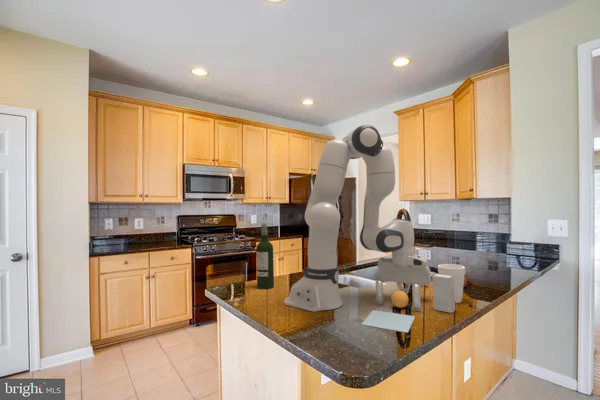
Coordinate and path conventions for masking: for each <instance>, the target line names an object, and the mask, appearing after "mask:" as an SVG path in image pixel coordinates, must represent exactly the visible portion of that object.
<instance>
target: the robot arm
mask: <svg viewBox="0 0 600 400" xmlns="http://www.w3.org/2000/svg"><path fill="white" fill-rule="evenodd" d="M361 158H362V160H363V162H365V163H364V164H365V166H366V169H365V170H366V171H365V172H366V186H365V196H364V202H363V203H364V204H363V220H362V221H363V223H362V228H361V231H360V235H359V242H360V244H361V246H362V247H363V248H364V249H365V250H367V251H376V252H380V253H386V254H387V253H391V257H380V258H379V259H378V260H377V268H378V271H377V279H378V280H382V281H383V282H384V281H385V282H390V283H391V282H392V283H393V282H394V283H396V285H397V288H398V289H399V290H400V291H403V292H405V293H406V294H407V295H408V294H409V289H410V287H411V286H412V284H420V286H421V285H424V286H429V285H431V284H432V273H431V268H430V267H429V264H428V259H427V258H426V257H424V256H420V255H418V254H416V252H415V247H414V244H415V231H414V225H413V222H412V221H411V220H409V219H406V218H405V219H404V218H393V219H392V220H391V221H390V222H389V223H387V224H385V225H384V226H381V227H380V225H379V224H380V223H379V222H380V221H379V218H380V206H381V203H383V201H384V200H385V199H386V198H387V197H388V196H389V195H391V194H392V193H393V191H394V190H395V186H396V168H395V167H396V166H395V159H394V155H393V151H392V149H390V148H389V147H388V146H384V142H383V140H382V138H381V134H380V132H379V131H378V129H377V128H376V127H375V126H373V125H371V124H370V125H369V124H364V125H363V124H362V125H359V126H358V127H356V128H355V129H353V130H351V131H350V132H349V133H348V134H347V135H345V137H343V138H342V140H341V139H335V138H334V139H331V140H329V141H327V143H326V144H325V146H324V148H323V150H322V153H321V155H320V159H319V163H318V167H317V171H316V176H315V179H314V183H313V186H312V189H311V192H310V195H309V198H308V201H307V205H306V208H305V212H304V220H305V223H306V225H308V226H309V230H308V231H309V233H308V243H307V267H304V268H303V269H302V272H301V273H304V274H303V277H301V278H300V279H299V280H297V281H296V282H295V283H294V284H293V285H292V286H291V288H290V291H289V296H287V297H285V299H284V300H283V304H284V305H285V306H286V305H287V306H289V307H295V308H297V309H301V310H305V311H308V312H320V311H328V310H335V309H338V308H340V307H342V306H343V301H342V298H341V293H340V288H339V280H340V279H339V267H338V253H337V251H338V250H337V243H338V236H339V228H340V227H339V226H340V222H341V212H340V211H339V209H338V208H337V207H336V205H337V202H338V199H339V197H340V196H341V193H342V191H343V188H344V184H345V179H346V175H347V171H348V167H349V166H348V165H349V163H350V160H356V159H357V160H358V159H361ZM402 283H403V284H406V286H407V287H406V288H403V286H402Z"/></svg>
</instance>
